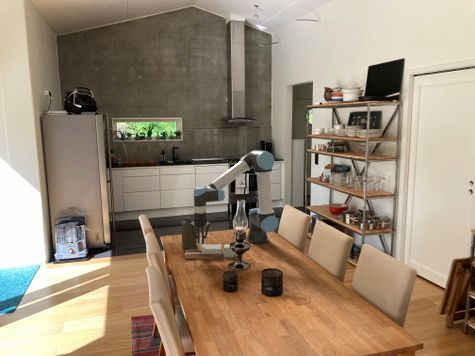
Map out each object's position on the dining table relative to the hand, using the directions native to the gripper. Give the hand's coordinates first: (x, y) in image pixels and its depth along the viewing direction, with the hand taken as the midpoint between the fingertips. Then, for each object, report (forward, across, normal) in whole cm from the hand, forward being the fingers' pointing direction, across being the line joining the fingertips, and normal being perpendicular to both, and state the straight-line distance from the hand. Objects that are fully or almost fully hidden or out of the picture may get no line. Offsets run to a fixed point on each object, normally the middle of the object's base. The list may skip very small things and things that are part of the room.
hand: (201, 248), depth 240 cm
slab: (+2, +7, 0) cm, 7 cm away
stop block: (+4, +18, 0) cm, 18 cm away
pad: (+5, +18, 0) cm, 18 cm away
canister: (+5, -9, +20) cm, 23 cm away
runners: (+5, +2, 0) cm, 5 cm away
